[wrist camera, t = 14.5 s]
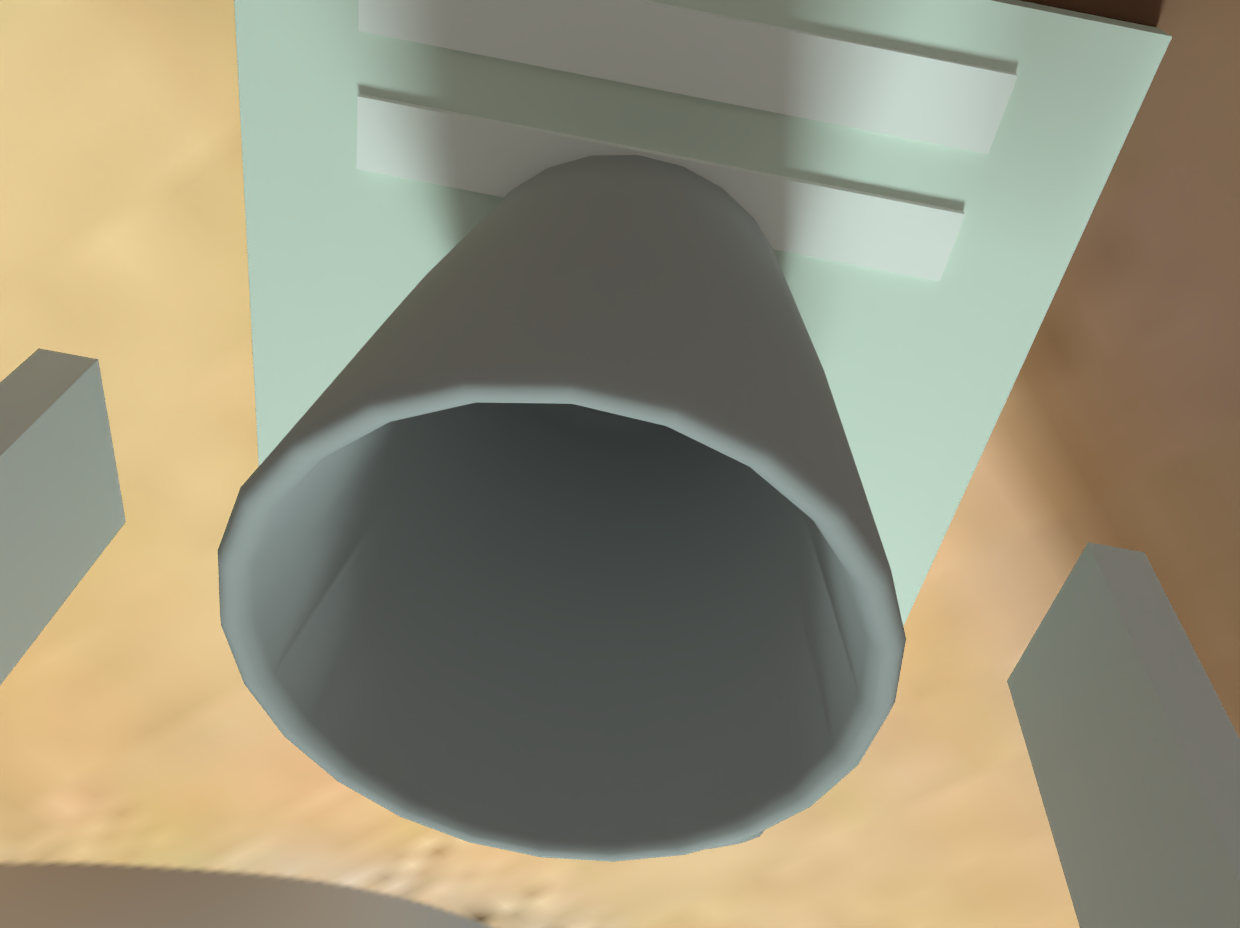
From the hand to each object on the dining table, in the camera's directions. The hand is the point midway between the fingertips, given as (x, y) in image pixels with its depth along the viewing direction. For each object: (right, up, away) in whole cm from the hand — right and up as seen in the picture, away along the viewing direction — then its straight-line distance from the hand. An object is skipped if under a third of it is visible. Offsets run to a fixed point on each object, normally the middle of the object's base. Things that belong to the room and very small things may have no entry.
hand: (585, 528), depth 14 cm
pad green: (+1, +3, +5) cm, 6 cm away
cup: (+1, +3, +5) cm, 6 cm away
